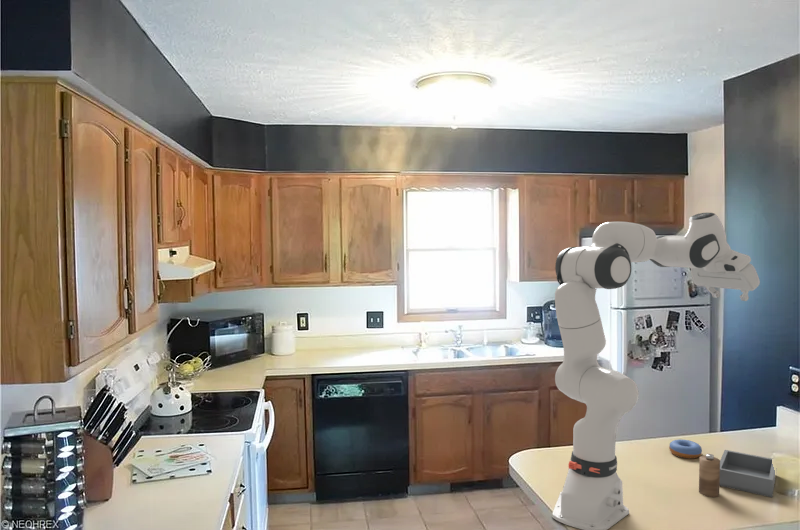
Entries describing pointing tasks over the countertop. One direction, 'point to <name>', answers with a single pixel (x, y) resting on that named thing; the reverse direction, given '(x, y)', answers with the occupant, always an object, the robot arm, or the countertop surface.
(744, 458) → the bin
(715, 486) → the pepper mill
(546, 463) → the countertop surface
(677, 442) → the doughnut
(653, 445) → the countertop surface
